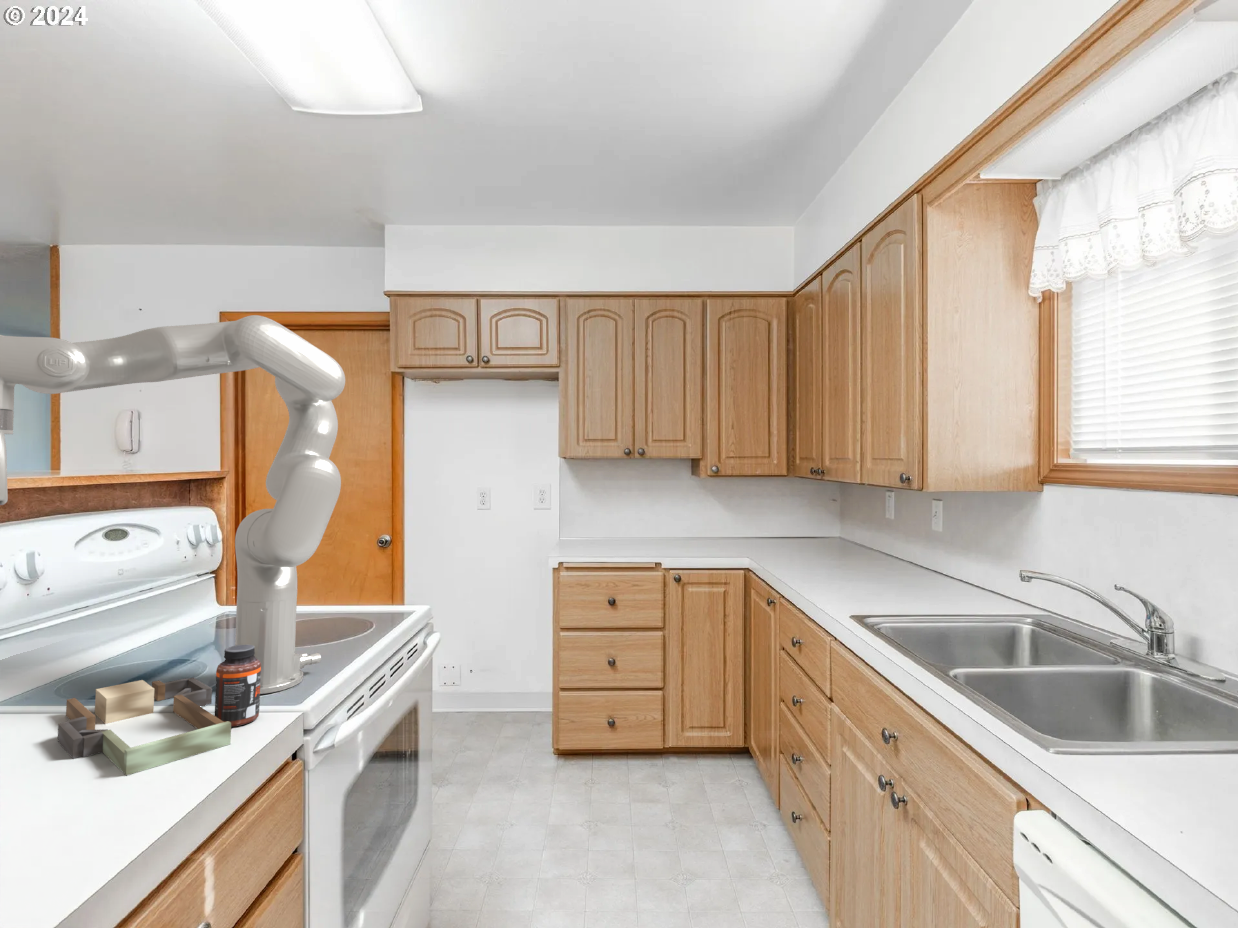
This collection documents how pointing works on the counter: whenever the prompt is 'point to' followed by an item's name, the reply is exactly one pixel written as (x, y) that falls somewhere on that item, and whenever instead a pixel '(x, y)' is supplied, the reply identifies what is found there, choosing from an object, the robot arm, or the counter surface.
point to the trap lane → (187, 701)
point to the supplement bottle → (238, 686)
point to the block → (124, 701)
